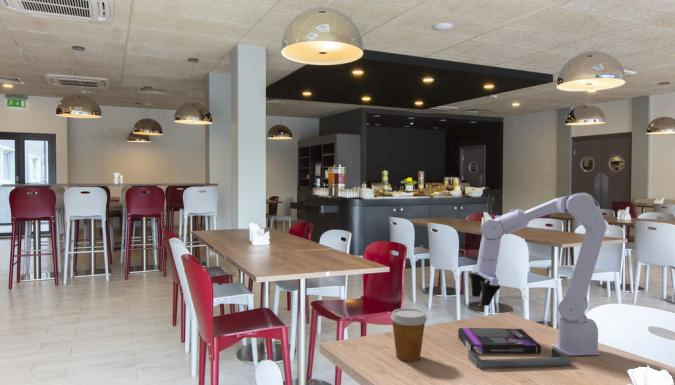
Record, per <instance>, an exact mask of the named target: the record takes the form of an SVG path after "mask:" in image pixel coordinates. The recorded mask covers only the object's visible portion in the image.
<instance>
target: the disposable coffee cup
mask: <svg viewBox="0 0 675 385" xmlns="http://www.w3.org/2000/svg"><path fill="white" fill-rule="evenodd" d="M390 319H391V321H392V331H393V338H394V347H395V355H396V356H395V357H396V358H397V359H398V360H400V361H404V362H416V361H419V360H420V359H421V354H422V347H423V338H424V331H425V326H426V325H425V323H426V322H427V319H428V318H427V317H426V313H425V312H424V311H423V310H420V309H416V308H407V307H406V308H397V309H394V310H393V311H392V312H391V315H390Z"/></svg>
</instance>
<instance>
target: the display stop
mask: <svg viewBox="0 0 675 385" xmlns="http://www.w3.org/2000/svg"><path fill="white" fill-rule="evenodd" d="M551 356H552V357H529V358H528V357H527V358H525V357H524V358H520V357H519V358H495V359H494V358H493V359H481V358H480V357H479V356H478V355H477V354H475V353H474V352H473V351H468V350H467V358H468V360H469V361H470V362H472V364H473V365H474V366H475V367H476V368H477V369H479V370H504V369H505V370H506V369H507V370H508V369H533V368H535V369H536V368H562V367H563V368H564V367H565V368H567V367H568V368H569V367H571V366H572V359H571V358H570V356H567V355H565V354H564V353H562V352H561V351H559V350H558V349H556V348H554V347H552V348H551Z"/></svg>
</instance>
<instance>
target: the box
mask: <svg viewBox="0 0 675 385" xmlns="http://www.w3.org/2000/svg"><path fill="white" fill-rule="evenodd" d="M457 330H458V331H457V332H458V335H457V336H458V339H459V340H460V341H461V343H462V344H463V346H464V347H465V349H466V350H467V352H468V351H473V352H474V353H475V354H476V355H477V354H478V355H542V345H541V344H540V343H539V342H537V341H536V340H535V339H534V338H533V337H532V336H530V335H529V333H527V332H526V331H525V330H524V329H523V328H502V327H501V328H500V327H498V328H496V327H495V328H494V327H493V328H492V327H491V328H489V327H487V328H485V327H484V328H482V327H477V328H476V327H458V329H457Z"/></svg>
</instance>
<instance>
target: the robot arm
mask: <svg viewBox="0 0 675 385" xmlns="http://www.w3.org/2000/svg"><path fill="white" fill-rule="evenodd" d="M553 213H562V214H566V213H568V214H570V215H571V216H572V217H574V218H575V219H577V221H579V222H580V224H581V226H583V228H584V229H585V231H584V232H585V233H584V235H583V238H582V242H581V246H580V249H579V253H578V255H577V256H578V257H577V260H576V261H575V262H576V263H575V266H574V269H573V270H574V271H573V273H572V277H571V281H570V283H569V285H568V287H567V288H568V289H567V291H566V292H565V293H566V294H565V296H564V298H563V299H562V300H561V301H560V302H559V304H558V307H557V308H558V309H557V310H558V312H559V315H558V342H557V343H552V344H551V346H552V348H556V349H557V350H559V351H560V352H562V353H564V354H565V355H567V356H568V357H570V356H572V357H573V356H574V357H575V356H598V355H600V352H599V350H598V349H599V346H598V345H599V329H598V326H597V323H596V321H595V320H594V319H592V318H588V317H587V315H586V314H585V312H586V311H587V310H588V306H589V303H588V302H589V301H588V298H587V297H588V292H589V288H590V284H591V281H592V278H593V275H594V272H595V268H596V265H597V261H598V258H599V255H600V253H601V252H600V251H601V249H602V244H603V241H604V239H605V235H606V231H607V223H606V220H605V217H604V216H603V211H602V210H601V207H600V204H599V202H598V201H597V199H595V198H594V196H592V195H591V194H590V193H588V192H578V193H577V192H576V193H574V194H571V195H566V196H562V197H561V196H560V197H557V198H554V199H551V200H549V201H547V202H544V203H541V204H539V205H536V206H534V207H531V208H529V209H527V210H522V209H520V208H517V209H516V208H512V209H510V210H509V212H507V213H504V214H502V215H495V216H494V218H493V219H487V220H485V221H484V222H483V223H482V224H481V227H480V233H481V234H482V235H481V239H480V245H479V250H478V256H477V262H476V265H475V264H474V265H472V266H473V267H472V269H471V272H469V273H468V276H469V278H470V284H471V285H470V286H471V296H472V297H474V298H475V297H476V298H480V296H481V305H482V306H486V307H489V306H490V304H491V302H492V301H493V298H494V296H495V294H496V293H497V292H498V291H499V290H500V288H501V285H500V284H499V278H498V276H497V274H496V271H497V265H498V262H499V261H498V259H499V255H500V248H501V240H502V237H503V236H504V235H508V234H511V233H514V232H516V231H519V230H523V229H525V228H528V225H529V223H530V221H532V220H536V219H539V218H541V217H544V216H549V215H550V214H553Z"/></svg>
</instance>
